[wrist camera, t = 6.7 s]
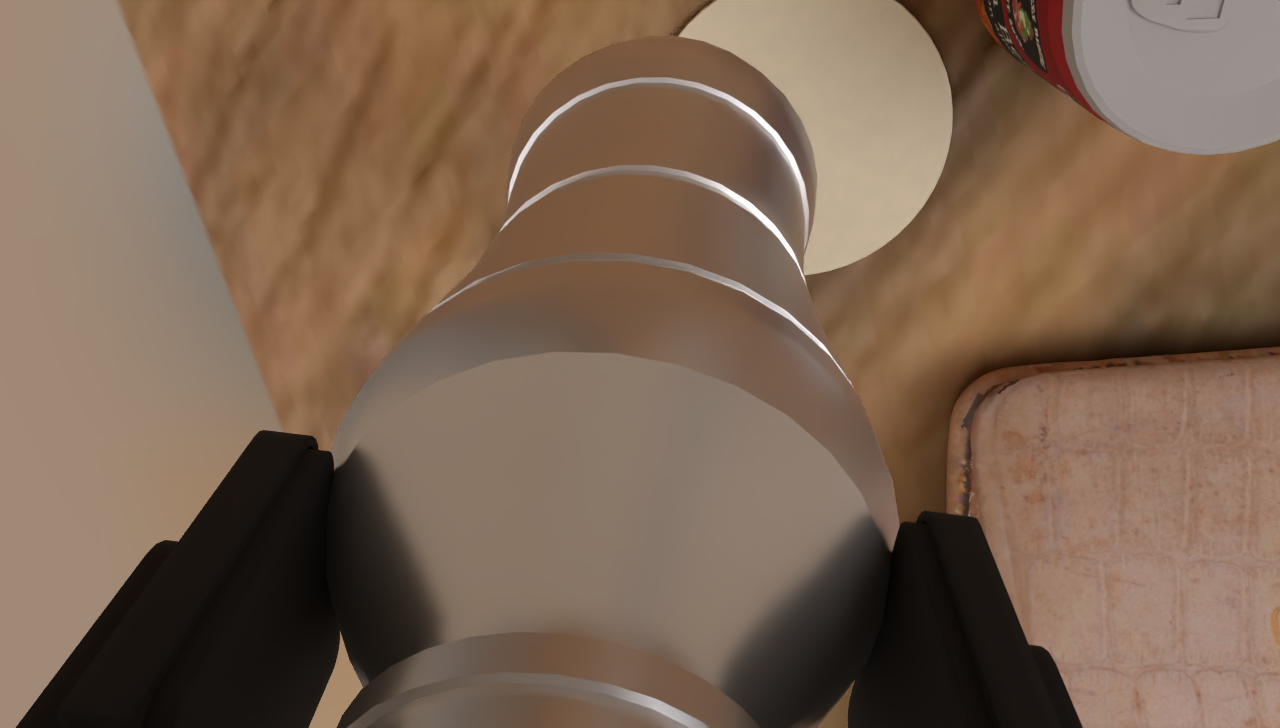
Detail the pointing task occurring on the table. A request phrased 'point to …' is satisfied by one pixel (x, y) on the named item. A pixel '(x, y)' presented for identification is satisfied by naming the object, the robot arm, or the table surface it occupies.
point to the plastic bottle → (619, 435)
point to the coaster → (849, 108)
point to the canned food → (1156, 65)
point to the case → (1136, 527)
